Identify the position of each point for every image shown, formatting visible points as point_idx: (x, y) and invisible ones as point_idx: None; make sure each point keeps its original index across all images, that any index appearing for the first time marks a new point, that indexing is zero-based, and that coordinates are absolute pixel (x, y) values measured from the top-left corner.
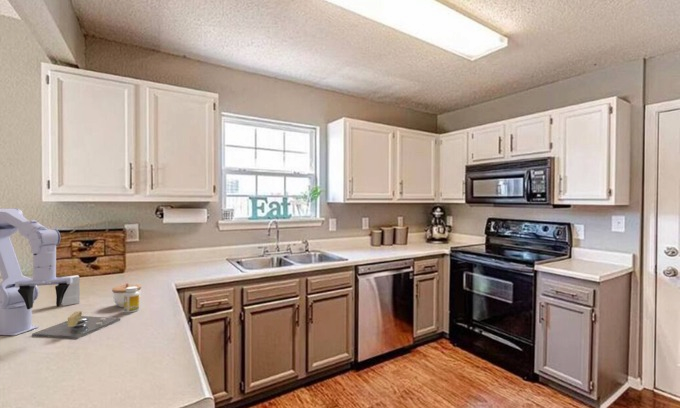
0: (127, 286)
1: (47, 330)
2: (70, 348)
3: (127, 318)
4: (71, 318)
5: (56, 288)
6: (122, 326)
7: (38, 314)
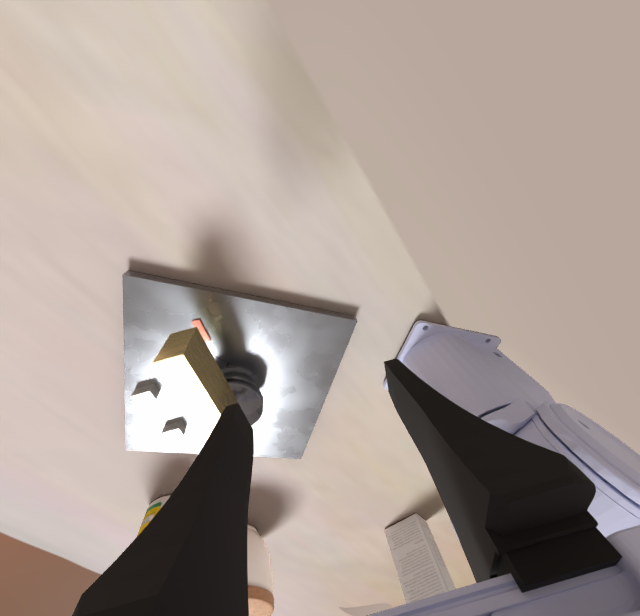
0: None
1: (320, 347)
2: (32, 137)
3: (118, 456)
4: (167, 356)
5: (151, 581)
6: (50, 392)
7: None
